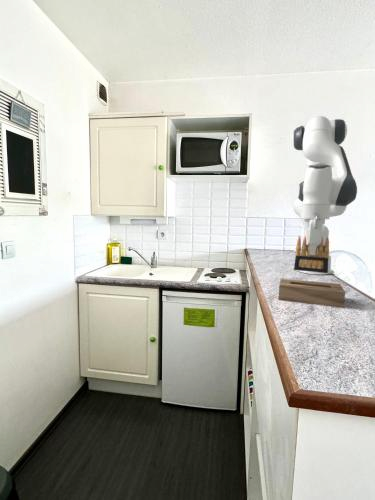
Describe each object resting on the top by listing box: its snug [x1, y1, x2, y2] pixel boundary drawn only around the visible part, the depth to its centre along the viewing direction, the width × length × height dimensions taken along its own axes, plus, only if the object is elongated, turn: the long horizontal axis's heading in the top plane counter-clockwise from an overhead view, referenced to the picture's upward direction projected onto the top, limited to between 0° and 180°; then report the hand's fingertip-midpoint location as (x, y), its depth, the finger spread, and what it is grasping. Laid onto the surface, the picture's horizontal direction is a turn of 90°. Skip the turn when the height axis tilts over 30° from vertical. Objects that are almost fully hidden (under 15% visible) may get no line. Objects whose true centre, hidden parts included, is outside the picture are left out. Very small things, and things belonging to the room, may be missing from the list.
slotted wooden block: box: [278, 278, 346, 308], centre depth 97 cm, size 11×20×5 cm, turn 69°
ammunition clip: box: [293, 235, 330, 273], centre depth 95 cm, size 11×2×12 cm, turn 67°
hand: (312, 254), depth 95 cm, fingers closed on ammunition clip, 1 cm apart
